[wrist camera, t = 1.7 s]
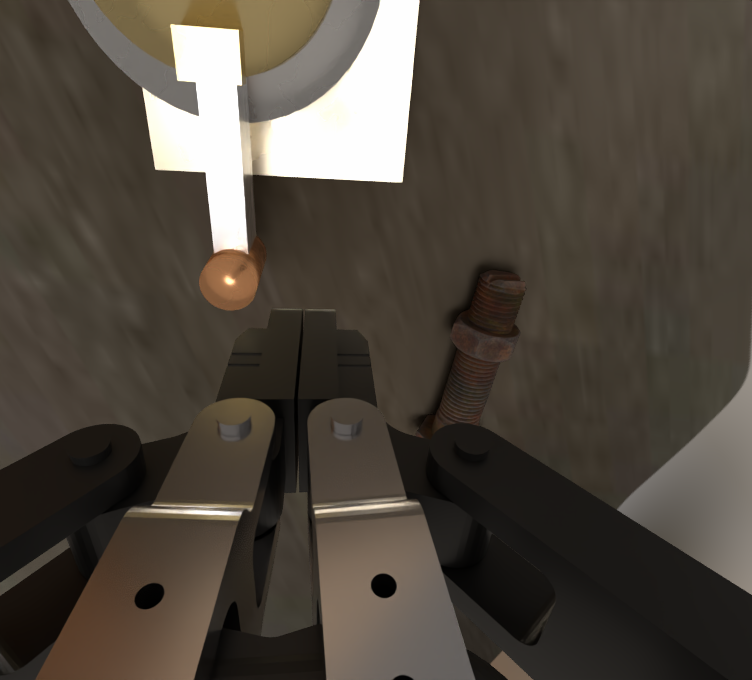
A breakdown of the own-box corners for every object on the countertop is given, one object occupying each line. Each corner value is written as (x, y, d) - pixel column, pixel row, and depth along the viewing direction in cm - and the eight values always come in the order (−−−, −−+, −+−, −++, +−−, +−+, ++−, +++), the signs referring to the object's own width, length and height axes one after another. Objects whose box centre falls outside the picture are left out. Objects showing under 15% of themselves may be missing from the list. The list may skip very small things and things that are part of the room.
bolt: (497, 258, 35) (445, 420, 42) (448, 261, 32) (401, 435, 39) (563, 290, 31) (494, 463, 38) (514, 296, 28) (449, 483, 35)
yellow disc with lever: (50, -272, 16) (-35, -372, 12) (348, -229, 17) (355, -308, 14) (149, 272, 26) (119, 307, 22) (334, 277, 27) (336, 312, 24)
